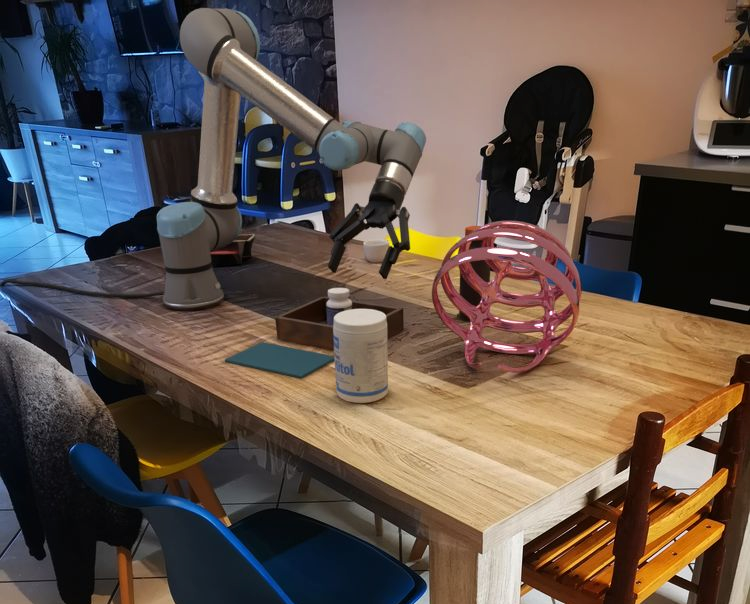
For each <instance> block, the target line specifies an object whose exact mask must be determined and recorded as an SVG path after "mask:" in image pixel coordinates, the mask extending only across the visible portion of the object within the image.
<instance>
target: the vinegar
mask: <svg viewBox="0 0 750 604" xmlns="http://www.w3.org/2000/svg"><path fill="white" fill-rule="evenodd" d="M481 226H482V225H469V226H466V227H465V229H464V237H466V236H467V235H469V234H470V233H471V232H472V231H474V230H475V229H477V228H479V227H481ZM482 240H483V238H482V239H478V240H474V241H472V242H471V244H470V246H469V250H471V249H476V248H481V244H482ZM470 264H471V266H472V268H473V270H474V271H475V272H476V274H477V275H478V276H479V277H480V278H481V279H482V280H484V281H485V282H487V283H490V282H491V267H490V266H489V265H488V264H487V263H486V262H485V260H477V261H471V262H470ZM458 293H459V294H460V295H461V296H462V297H463V298H464V299H465V300H466V301H467V302H468V303H470V304H471V305H473V306H478V305H479V304H480V302H481V295H480V294H479V293H478V292H477V291H475V290H474V289H473V288H472V287H471V286H470V285H469V284H468V283H467V282H466V281H465V279H464V278H463V276H462V274H461V272H460V271H459V291H458ZM458 317H459V319H460V320H463V321H466V322H470V319H469V318H468V317H467V316H466V315H465V314H463V313H462V312H461V311H459V310H458Z"/></svg>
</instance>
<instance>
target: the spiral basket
mask: <svg viewBox="0 0 750 604" xmlns="http://www.w3.org/2000/svg"><path fill="white" fill-rule="evenodd" d="M480 226H481V227H479V228H477V229H475V230H474V231H472V232H471V233H470V234H469V235H467V236H466V237H465V236H464V237H462V238H461V239H459V240H458V241H457V242H455V243H454V244H453V245H452V246H451V247H450V249H449V250H448V251H447V252H446V254H445V255H444V257H443V260H442V262H441V265H440V268H439V269H438V271H436V274H435V276H434V279H433V282H432V287H431V301H432V305H433V308H434V311H435V312H436V314H437V316H438V318H439V319H440V321H441V322H442V323H443V324H444V326H446V327H447V328H448V329H449V330H450V331H451V332H452V333H453V334H455V335H456V336H457V337H459V338H460V339H461V340H462V341H463V343H464V359H465V362H466V364H467V366H469V367H470V368H471V369H474V370H477V369H480V368H481V366H482V365H483V363H482V362H475V359H476V353H477V350H478V349H484V350H487V351H490V352H495V353H499V354H504V355H505V354H506V355H535V357H534V358H533V360H532V361H531V362H530V363H528V364H526V365H525V366H522V367H510V366H507V365H503V364H497V368H498V369H499V370H501V371H503V372H506V373H511V374H520V373H524V372H527V371H530V370H532V369H534V368H535V367H537V366H538V365H539V364H541V362H542V361H543V360H544V359H545V358H546V356H547V354H548V353H549V352H550V351H551V350H552V349H554V348H556V347H557V346H559V345H560V344H562V343H563V342H564V341H566V340H567V338H568V337H570V335H571V334H572V333H573V331H574V330H575V328H576V325H577V323H578V319H579V317H580V302H581V299H582V293H583V292H582V291H583V290H582V281H581V280H582V279H581V276H580V273H579V270H578V268H577V266H576V265H575V263H574V261H573V258H572V256H571V253H570V252H569V250H568V248H567V247H566V246H565V244H564V243H563V241H561V240H560V239H559V238H557V237H556V236H555V235H554V234H552V233H551V232H550V231H547V229H544V228H543V227H540V226H538V225H536V224H532V223H529V222H525V221H519V220H499V221H493V222H488V223H486V224H484V225H480ZM482 238H483V240H482V244H481V248H476V249H471V250H469V246H470V244H471V242H472V241H474V240H478V239H482ZM497 238H507V239H514V240H519V241H524V242H527V243H530V244H533V245H535V246H538V247H540V248H543V250H546V255H545V257H544V259H543V258H541V257H539V256H537V255H534V254H532V253H529V252H527V251H523V250H519V249H515V248H509V247H500V246H495V242H496V239H497ZM457 250H458V251H457ZM456 251H457V254H454V253H456ZM453 254H454V255H453ZM452 255H453V256H452ZM558 259H559V260H560V261H561V262H562V263H563V264H564V265H565V267H566V268H565V271H564V273H563V272H562V271H560V269H558V268H557V267H556V265H557V264H558ZM477 260H485V262H486V263H487V264H488V265H489V266H490V269H492V270H493V271H494V273H495V275H494V277H493V279H492V280H491V281H490V283H487V282H485V281H484V280H482V279H481V278H480V277H479V276H478V275H477V274H476V272H475V271H474V270H473V268H472V266H471V264H470V262H471V261H477ZM512 263H513V264H516V265H520V266H523V267H519V266H514V265H512ZM456 267H458V270H459V273H460V272H461V274H462V276H463V278H464V279H465V281H466V282H467V283H468V284H469V285H470V286H471V287H472V288H473V289H474V290H475V291H477V292H478V293H479V294H480V295H481V302H480V304H479V305H478V306H473V305H471V304H470V303H468V302H467V301H466V300H465V299H464V298H463V297H462V296H461V295H460V294H459V291H458V290H457V289H456V287H455V286H454V284H453V282H452V279H451V277H450V272H449V271H451V270H452V269H454V268H456ZM504 279H512V280H516V281H534V280H535V281H537V282H539V286H540V291H539V292H536V293H529V294H528V293H527V294H525V293H524V294H523V293H514V292H508V291H505V290H503V289H502V288H501V284H502V282H503V280H504ZM548 279H549V280H550V281H552V282H553V283H554V284H555V285H554V286H551V285H550V284H549V281H548ZM574 281H575V287H574V286H573V282H574ZM439 283H441V287H442V289H443V292H444V294H445V297H447V299H448V300H449V301H450V303H451V304H452V305H453V306H454V307H455V308H456V309H457V310H458V312H459V311H461V312H462V313H463V314H465V315H466V316H467V317H468V318H469V319H470V321H469V322H470V324H469V326H468V327H463V326H462V325H461V324H460V323H458V322H457V321H456V320H455V319H453V317H451V315H450V314H448V312H447V311H446V309H445V308H444V307H443V305H442V303H441V301H440V299H439V295H438V285H439ZM564 295H565V296H566V298H567V300H568V302H569V304H568V305H567V306H566V307H565V308H563V310H561V311H559V312H556V308H555V307H556V306H555V305H556V302H557V300H559V299H560V298H561V297H563V296H564ZM493 304H501V305H505V306H509V307H513V308H535V307H542V308H543V311H544V313H543V317H542V318H540V319H536V320H513V319H507V318H502V317H498V316H495V315H493V314H492V313H491V312H490V311H491V307H492V305H493ZM571 317H572V319H571V322H570V324H569V325H568V327H567V328H566V329H565V330H563V332H561V333H559V334H558V335H556V334H555V333H556V330H557V328H559V326H561V325H562V324H564V323H565V322H567V320H569V319H570V318H571ZM485 328H489V329H494V330H496V331H497V330H498V331H501V332H506V333H515V334H530V333H531V334H533V333H542V338H541V340H539V341H537V342H534V343H527V344H525V343H523V344H515V343H506V342H501V341H500V342H499V341H496V340H493V339H492V340H491V339H488V338H487V337H484V336H483V334H482V331H483V329H485Z"/></svg>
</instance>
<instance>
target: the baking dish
mask: <svg viewBox="0 0 750 604" xmlns="http://www.w3.org/2000/svg"><path fill="white" fill-rule="evenodd" d="M255 239H256V234H255V233H252V234H250V233H248V234H239V235H238V237H237V238H236V239H235V240H234V241H232V242H231V243H230V244H228V245H227V246H225V247H222V248H219V249H216V250H214V251H212V252H210V255H211V262H212V267H221V266H235V265H241V264H243V258H245V257H250V258H252V255H253V254H252V248H253V244H254V241H255Z"/></svg>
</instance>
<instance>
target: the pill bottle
mask: <svg viewBox="0 0 750 604" xmlns="http://www.w3.org/2000/svg"><path fill="white" fill-rule="evenodd" d="M327 297H329V300H328V301H327V304H326V307H327V319H326V322H327V323H326V325H332V326H333V324H334V316H335V315H336V314H338V313H340V312H342V311H346V310H351V309H352V301H353V300H352V301H351V299H350V298H349V297H350V289H349V288H347V287H346V288H345V287H332V288H329V289H328V290H327Z"/></svg>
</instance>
